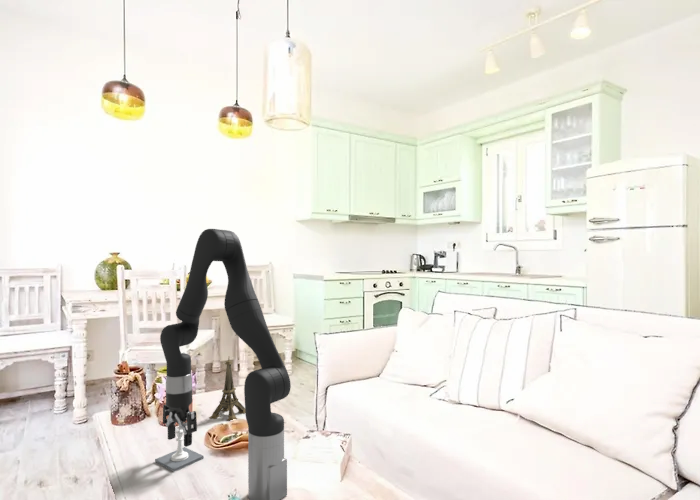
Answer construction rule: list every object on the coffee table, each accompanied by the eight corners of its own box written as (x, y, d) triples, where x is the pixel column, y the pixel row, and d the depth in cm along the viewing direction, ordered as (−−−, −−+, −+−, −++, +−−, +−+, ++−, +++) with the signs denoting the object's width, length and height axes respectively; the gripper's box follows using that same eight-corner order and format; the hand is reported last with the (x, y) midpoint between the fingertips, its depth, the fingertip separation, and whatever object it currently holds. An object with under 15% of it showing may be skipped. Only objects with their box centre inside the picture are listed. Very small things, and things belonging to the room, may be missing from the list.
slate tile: (203, 458, 135) (203, 455, 135) (173, 471, 127) (173, 469, 127) (184, 449, 141) (184, 447, 141) (155, 461, 132) (155, 459, 132)
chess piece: (182, 462, 131) (182, 428, 131) (167, 460, 132) (167, 427, 131) (191, 454, 135) (191, 422, 135) (177, 453, 136) (177, 421, 136)
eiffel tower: (233, 421, 164) (233, 354, 163) (209, 418, 167) (208, 352, 167) (248, 411, 174) (248, 348, 173) (225, 408, 177) (224, 346, 177)
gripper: (204, 389, 132) (204, 443, 132) (176, 381, 141) (177, 432, 141) (181, 396, 126) (182, 453, 126) (154, 387, 135) (155, 440, 135)
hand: (179, 442), depth 133 cm, fingers open, 8 cm apart
